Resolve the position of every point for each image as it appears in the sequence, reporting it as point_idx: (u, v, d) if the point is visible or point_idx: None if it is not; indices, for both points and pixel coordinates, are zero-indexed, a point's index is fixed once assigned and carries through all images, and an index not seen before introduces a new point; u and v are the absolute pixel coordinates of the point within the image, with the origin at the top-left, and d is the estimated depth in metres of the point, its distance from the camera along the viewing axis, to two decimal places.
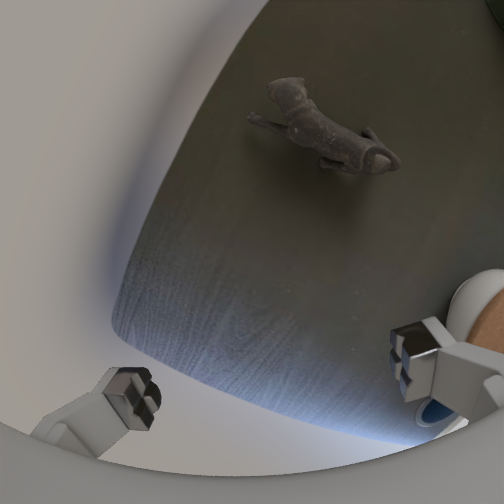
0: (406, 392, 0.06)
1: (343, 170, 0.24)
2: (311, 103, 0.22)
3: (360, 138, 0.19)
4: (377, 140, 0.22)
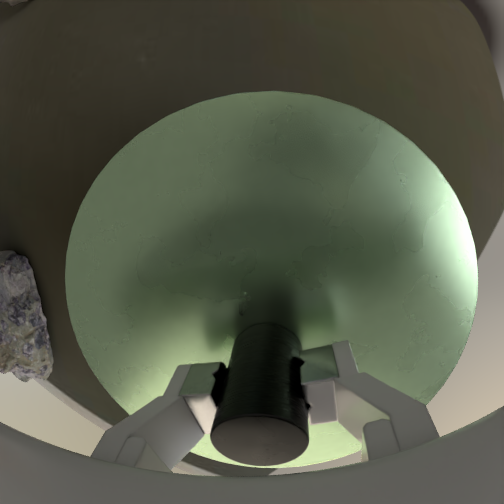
0: (308, 415, 0.07)
1: None
2: None
3: None
4: None
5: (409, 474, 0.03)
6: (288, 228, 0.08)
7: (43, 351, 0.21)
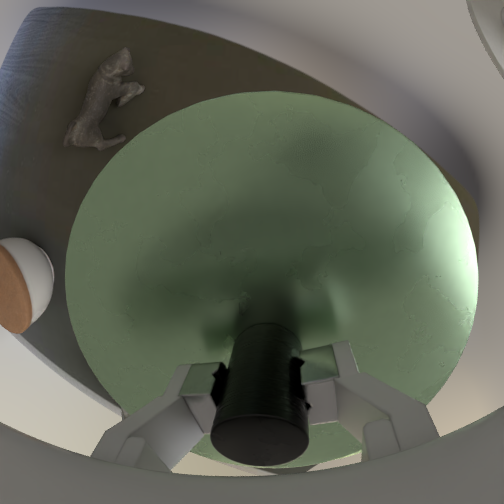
0: (308, 415, 0.07)
1: None
2: (131, 87, 0.25)
3: (88, 118, 0.23)
4: (107, 142, 0.26)
5: (409, 474, 0.03)
6: (288, 228, 0.08)
7: None
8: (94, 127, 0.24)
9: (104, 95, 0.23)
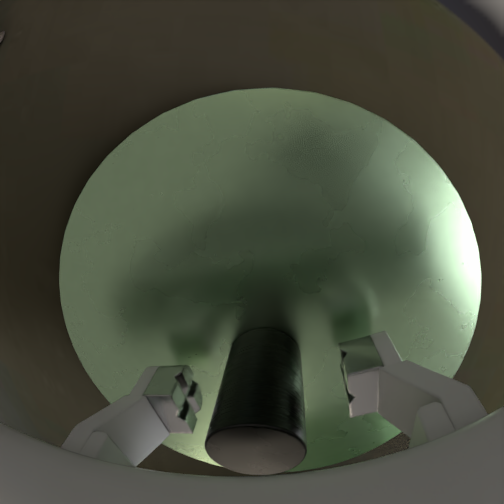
0: (349, 407, 0.07)
1: None
2: None
3: None
4: None
5: (409, 474, 0.03)
6: (286, 230, 0.08)
7: None
8: None
9: None
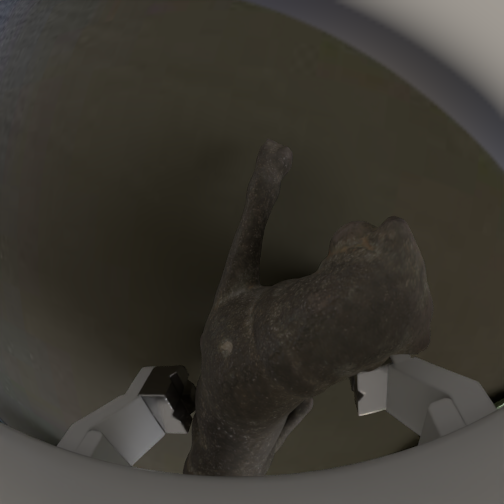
0: (358, 405, 0.07)
1: None
2: None
3: (257, 469, 0.07)
4: (284, 437, 0.11)
5: (409, 474, 0.03)
6: None
7: None
8: (268, 459, 0.08)
9: None
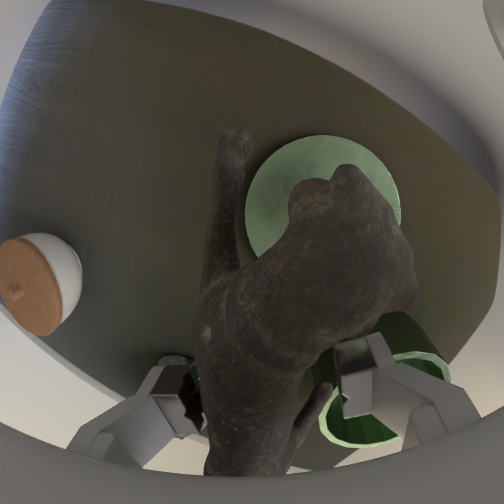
0: (343, 409, 0.07)
1: None
2: None
3: (274, 462, 0.07)
4: (307, 428, 0.10)
5: (409, 474, 0.03)
6: (332, 174, 0.27)
7: None
8: (289, 452, 0.08)
9: (297, 388, 0.07)
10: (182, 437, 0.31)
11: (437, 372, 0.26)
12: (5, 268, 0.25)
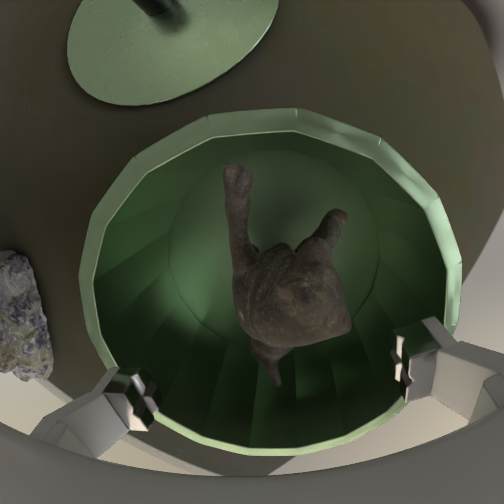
0: (406, 392, 0.06)
1: None
2: None
3: None
4: None
5: (409, 474, 0.03)
6: None
7: (43, 350, 0.21)
8: None
9: None
10: None
11: (423, 260, 0.11)
12: None
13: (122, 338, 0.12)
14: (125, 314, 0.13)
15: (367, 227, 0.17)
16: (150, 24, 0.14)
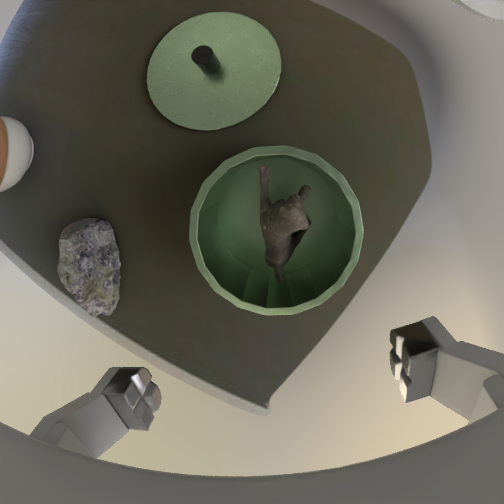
0: (406, 392, 0.06)
1: None
2: (303, 202, 0.27)
3: (285, 253, 0.30)
4: (300, 238, 0.33)
5: (409, 474, 0.03)
6: (215, 35, 0.27)
7: (115, 288, 0.37)
8: (291, 249, 0.31)
9: None
10: (78, 296, 0.31)
11: (346, 206, 0.26)
12: None
13: (203, 246, 0.28)
14: (204, 236, 0.28)
15: (328, 199, 0.33)
16: (206, 80, 0.29)
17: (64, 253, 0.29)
